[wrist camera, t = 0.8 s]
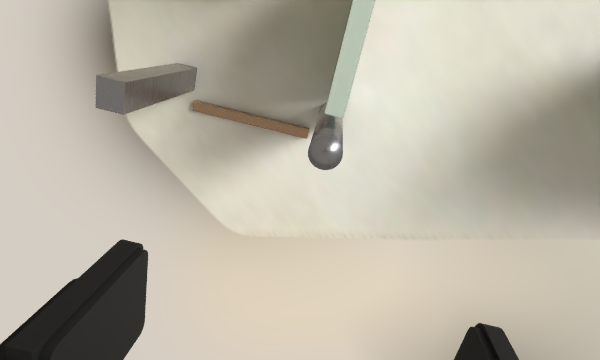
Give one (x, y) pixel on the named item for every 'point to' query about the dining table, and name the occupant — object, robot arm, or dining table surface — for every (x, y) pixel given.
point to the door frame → (209, 107)
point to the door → (349, 56)
